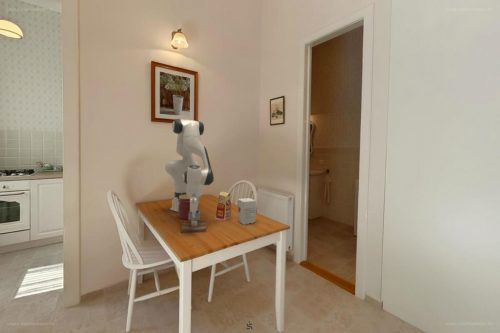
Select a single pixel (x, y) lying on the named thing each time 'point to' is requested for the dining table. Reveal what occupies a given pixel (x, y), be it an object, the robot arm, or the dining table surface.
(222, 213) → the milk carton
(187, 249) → the dining table surface
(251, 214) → the supplement box
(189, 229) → the post base
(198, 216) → the collar
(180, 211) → the canister
